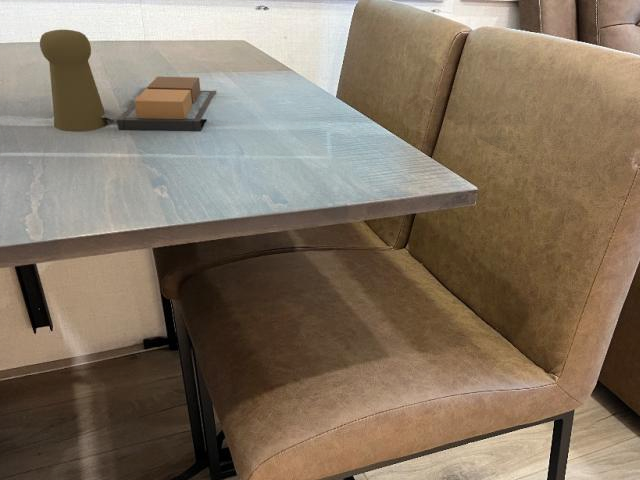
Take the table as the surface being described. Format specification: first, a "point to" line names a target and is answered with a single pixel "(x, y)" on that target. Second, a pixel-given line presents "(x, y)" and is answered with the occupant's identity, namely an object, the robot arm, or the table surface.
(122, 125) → the frame
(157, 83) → the pad
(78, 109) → the olive pawn
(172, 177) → the table surface
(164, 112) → the loose pad
